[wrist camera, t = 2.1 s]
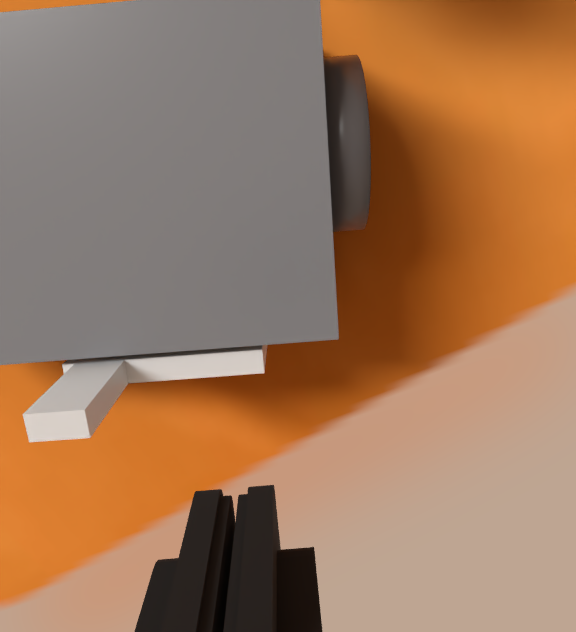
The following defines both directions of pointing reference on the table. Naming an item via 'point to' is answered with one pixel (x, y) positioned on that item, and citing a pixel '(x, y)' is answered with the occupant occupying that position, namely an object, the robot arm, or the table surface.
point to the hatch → (124, 385)
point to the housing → (174, 177)
